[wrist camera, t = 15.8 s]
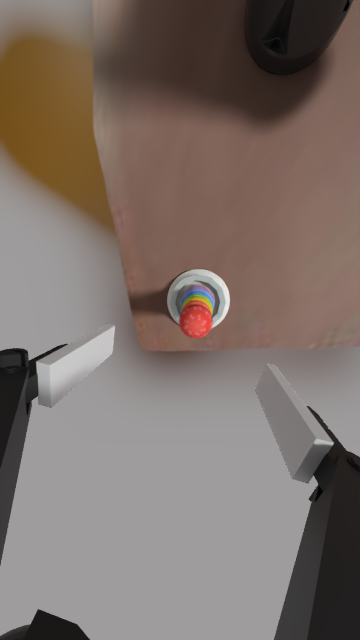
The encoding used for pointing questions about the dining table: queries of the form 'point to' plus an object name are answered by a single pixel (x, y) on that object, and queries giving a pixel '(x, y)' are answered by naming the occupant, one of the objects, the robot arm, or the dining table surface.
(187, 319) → the stacking toy
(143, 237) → the dining table surface
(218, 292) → the collar base
